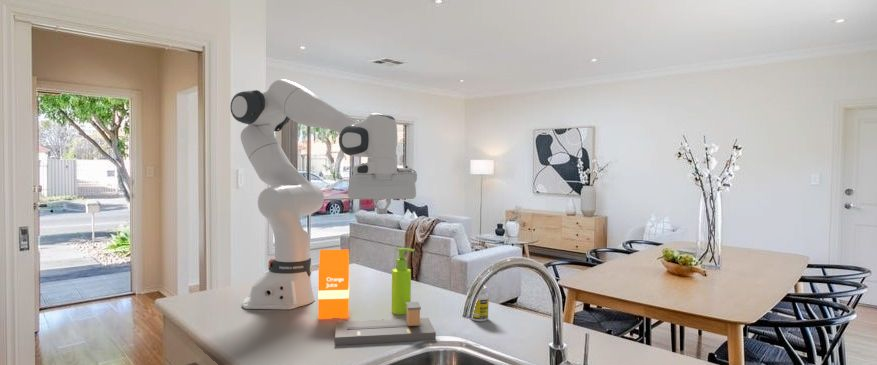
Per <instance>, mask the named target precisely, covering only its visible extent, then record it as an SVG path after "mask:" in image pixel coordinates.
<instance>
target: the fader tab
mask: <svg viewBox="0 0 877 365" xmlns="http://www.w3.org/2000/svg"><path fill="white" fill-rule="evenodd" d="M406 306H407V314H406V318H405V319H406V320H407V323H408V326H417V325H420V318H421V305H420V302H419V301H411V302H406Z"/></svg>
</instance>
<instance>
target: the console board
mask: <svg viewBox="0 0 877 365" xmlns="http://www.w3.org/2000/svg"><path fill="white" fill-rule="evenodd" d="M436 334H437V332H436V330H435V328H434V326H433V325H432V322H431V321H430V318H429V317H420V325H417V326H408V323H407V320H406V318H397V319H396V318H395V319H392V318H391V319H375V320H372V319H371V320H370V319H369V320H351V321H350V320H349V321H336V322H335V332H334V346H347V345H365V344H382V343H400V342H419V341H421V342H422V341H435V340H436V338H437V337H436V336H437V335H436Z"/></svg>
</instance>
